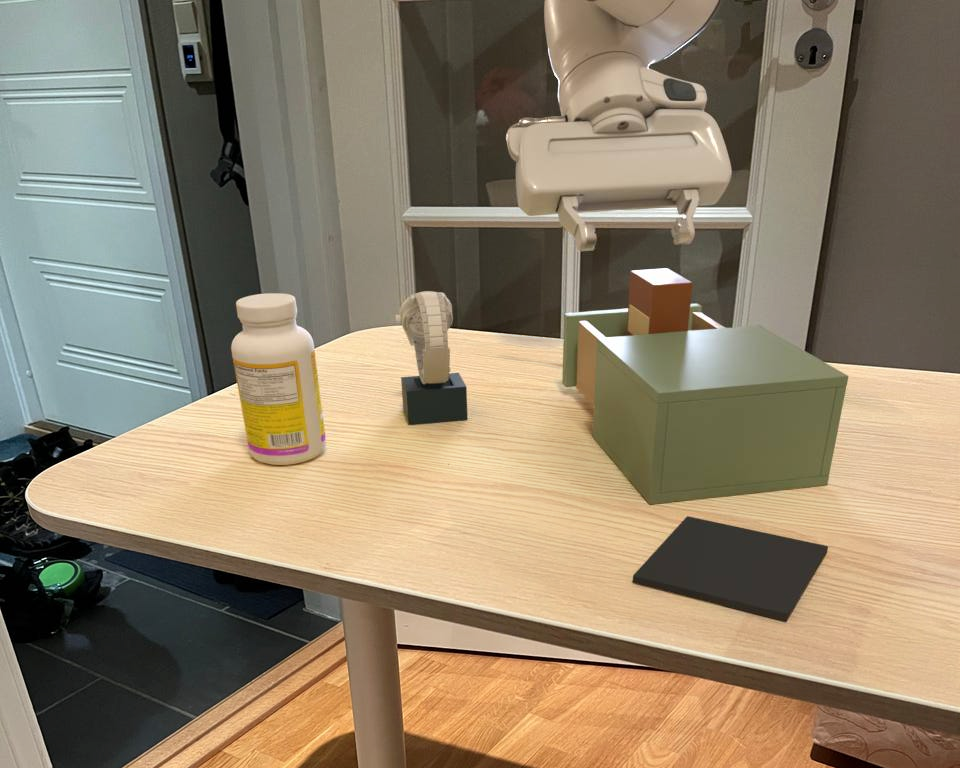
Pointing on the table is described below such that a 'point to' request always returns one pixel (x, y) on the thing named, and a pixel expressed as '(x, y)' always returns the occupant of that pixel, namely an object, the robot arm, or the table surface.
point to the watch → (431, 362)
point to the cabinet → (715, 412)
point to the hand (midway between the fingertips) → (636, 244)
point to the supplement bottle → (277, 381)
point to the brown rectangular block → (658, 302)
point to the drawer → (603, 324)
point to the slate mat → (733, 567)
